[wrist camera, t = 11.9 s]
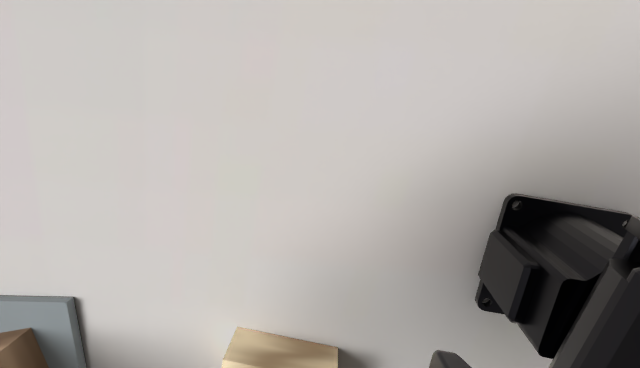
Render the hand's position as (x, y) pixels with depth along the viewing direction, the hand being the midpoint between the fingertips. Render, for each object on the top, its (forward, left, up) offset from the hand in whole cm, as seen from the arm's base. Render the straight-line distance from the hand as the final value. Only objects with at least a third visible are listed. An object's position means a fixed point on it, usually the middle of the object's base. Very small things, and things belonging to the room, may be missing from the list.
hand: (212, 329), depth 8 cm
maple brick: (-1, +11, -13) cm, 17 cm away
